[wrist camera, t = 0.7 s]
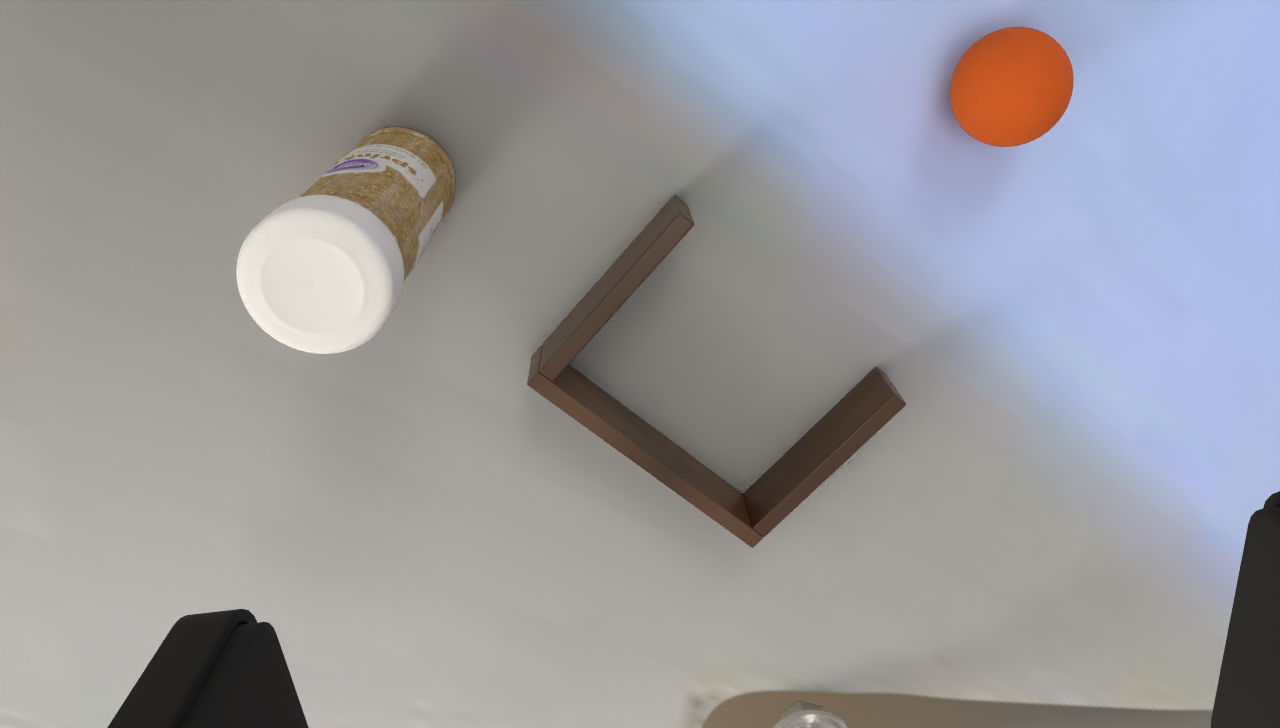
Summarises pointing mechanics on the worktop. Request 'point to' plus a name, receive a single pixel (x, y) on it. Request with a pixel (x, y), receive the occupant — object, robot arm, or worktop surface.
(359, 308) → the sprinkles bottle
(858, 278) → the worktop surface
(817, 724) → the screw
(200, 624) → the robot arm
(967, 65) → the ball
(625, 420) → the brown u-shaped piece
